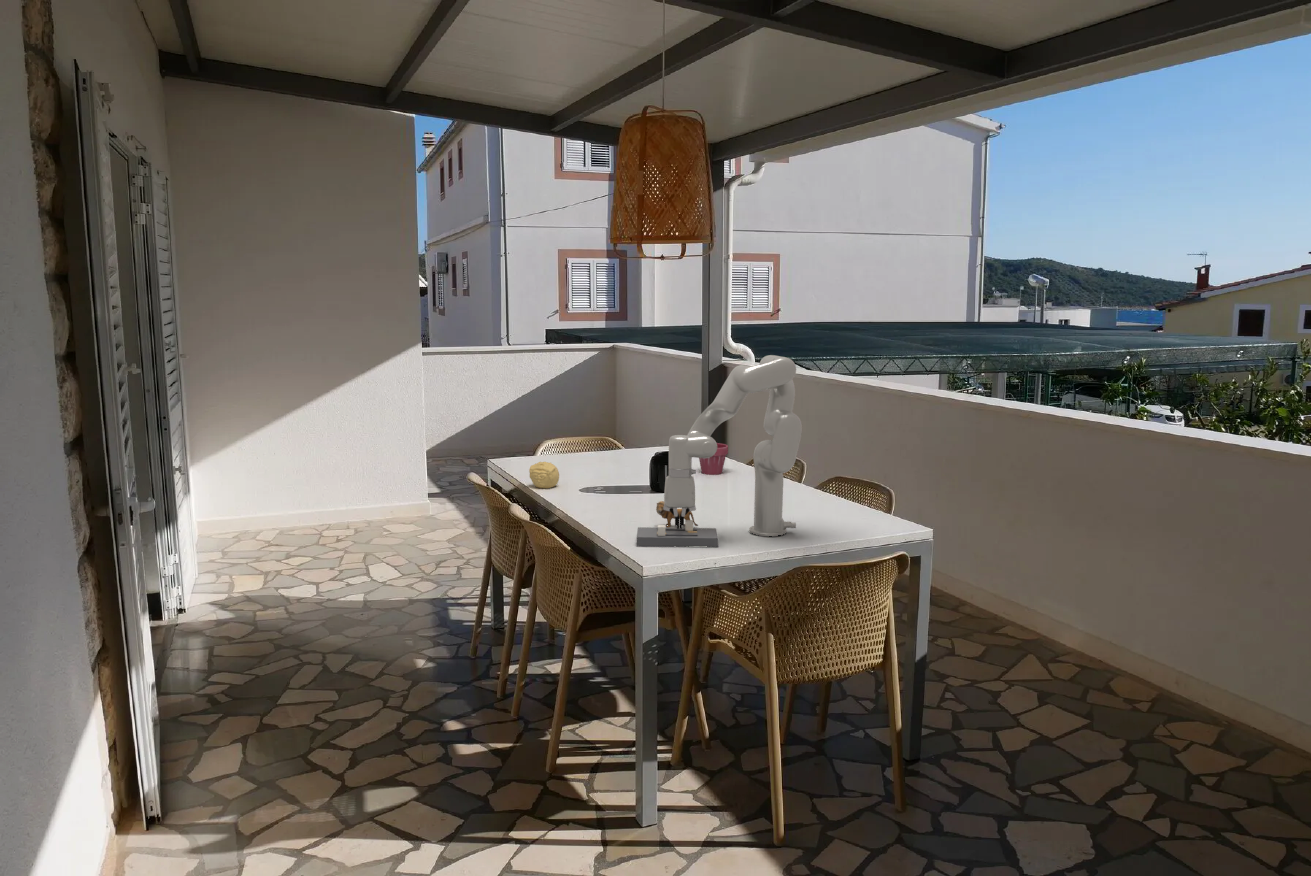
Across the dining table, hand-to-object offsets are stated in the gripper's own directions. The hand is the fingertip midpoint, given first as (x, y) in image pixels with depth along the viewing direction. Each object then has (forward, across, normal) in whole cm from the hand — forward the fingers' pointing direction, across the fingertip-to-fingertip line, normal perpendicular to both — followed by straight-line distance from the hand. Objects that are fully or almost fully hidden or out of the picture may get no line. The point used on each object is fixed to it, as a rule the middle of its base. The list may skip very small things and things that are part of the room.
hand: (679, 527), depth 313 cm
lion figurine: (+4, +1, -16) cm, 17 cm away
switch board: (+4, +1, +4) cm, 5 cm away
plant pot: (+4, -16, -117) cm, 118 cm away
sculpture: (+4, +55, -82) cm, 99 cm away
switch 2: (+2, -3, 0) cm, 4 cm away
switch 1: (+2, +6, +7) cm, 9 cm away
